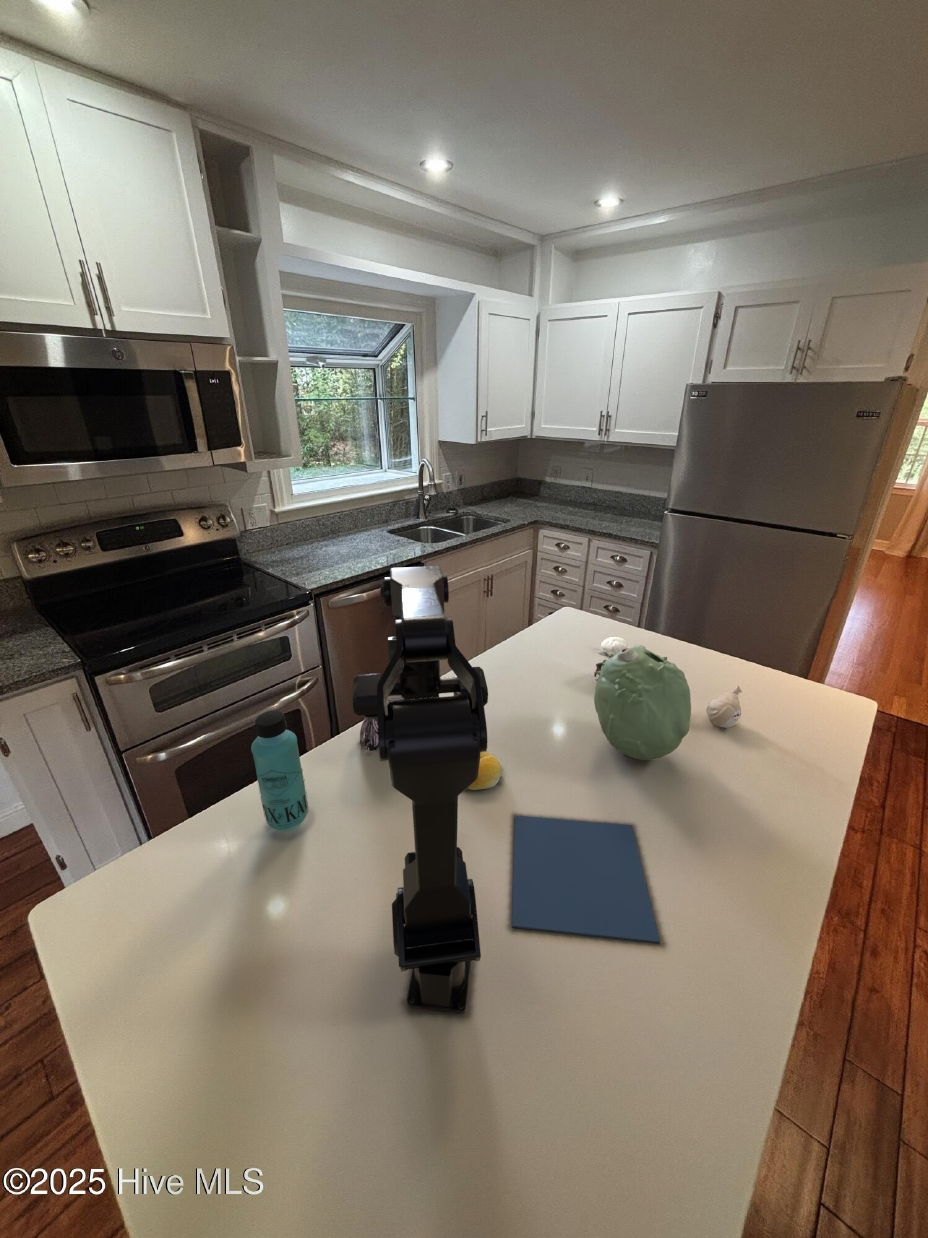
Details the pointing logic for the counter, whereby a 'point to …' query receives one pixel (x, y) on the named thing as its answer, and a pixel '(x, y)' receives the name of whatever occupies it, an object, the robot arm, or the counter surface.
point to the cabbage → (642, 703)
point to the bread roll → (487, 772)
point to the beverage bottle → (279, 772)
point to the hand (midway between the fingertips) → (422, 729)
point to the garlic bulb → (725, 709)
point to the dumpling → (613, 645)
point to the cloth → (580, 880)
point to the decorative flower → (370, 733)
